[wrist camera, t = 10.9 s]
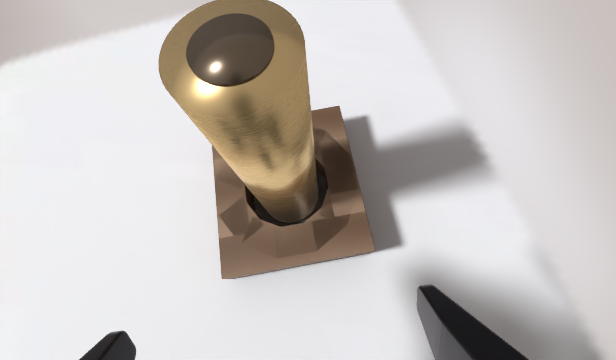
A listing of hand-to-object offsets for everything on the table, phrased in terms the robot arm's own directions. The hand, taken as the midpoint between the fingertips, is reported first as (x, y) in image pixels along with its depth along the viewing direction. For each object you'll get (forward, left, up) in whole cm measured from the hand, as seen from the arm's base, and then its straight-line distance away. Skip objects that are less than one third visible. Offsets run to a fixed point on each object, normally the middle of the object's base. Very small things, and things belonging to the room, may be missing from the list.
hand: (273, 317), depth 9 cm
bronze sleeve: (+7, 0, -12) cm, 14 cm away
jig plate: (+7, 0, -12) cm, 14 cm away
